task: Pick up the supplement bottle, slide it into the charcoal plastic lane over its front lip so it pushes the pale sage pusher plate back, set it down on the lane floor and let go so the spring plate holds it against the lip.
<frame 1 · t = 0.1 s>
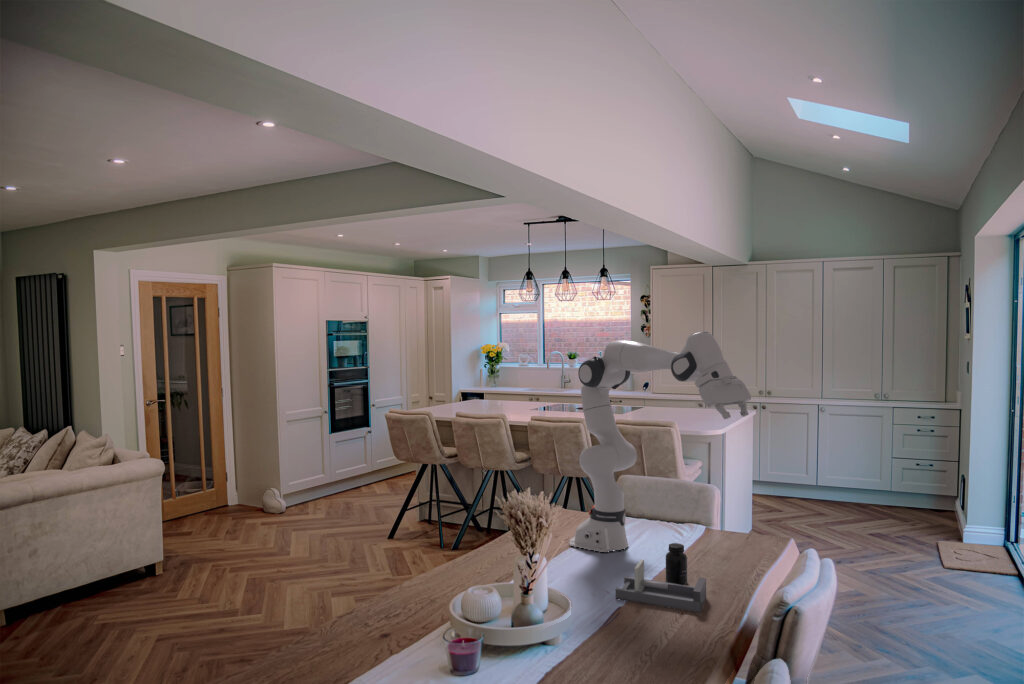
hand: (736, 417, 199), 54 cm above the table, tool tilted 30°, fingers open, 8 cm apart
supplement bottle: (676, 582, 207), on the table
lane: (660, 598, 194), on the table
pusher: (652, 580, 195), point 5 cm above the table, slide at 0.0 cm
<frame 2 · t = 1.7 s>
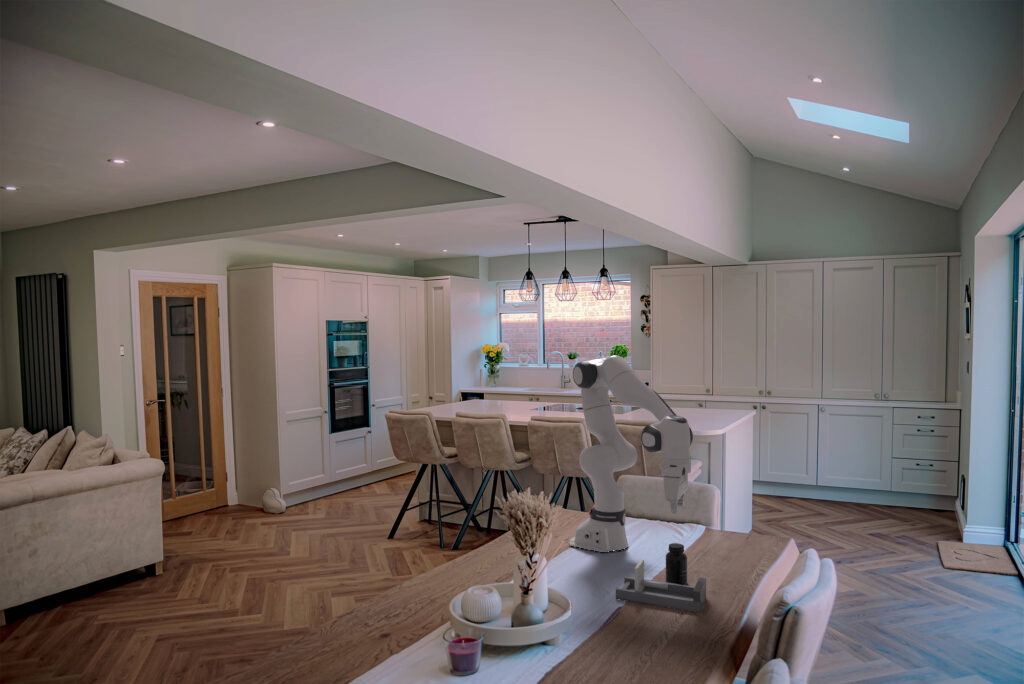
hand: (677, 509, 206), 24 cm above the table, tool pointing down, fingers open, 8 cm apart
nothing on the table moved.
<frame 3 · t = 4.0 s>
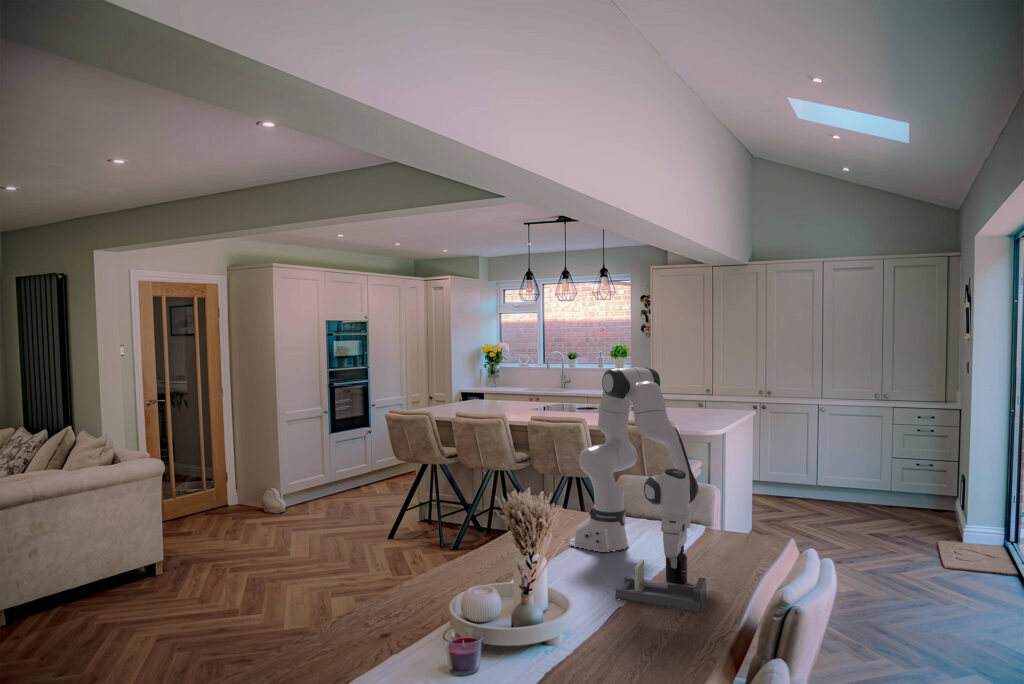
hand: (676, 563, 207), 6 cm above the table, tool pointing down, fingers closed on supplement bottle, 7 cm apart
supplement bottle: (676, 582, 207), on the table, touching gripper
everything else where it was.
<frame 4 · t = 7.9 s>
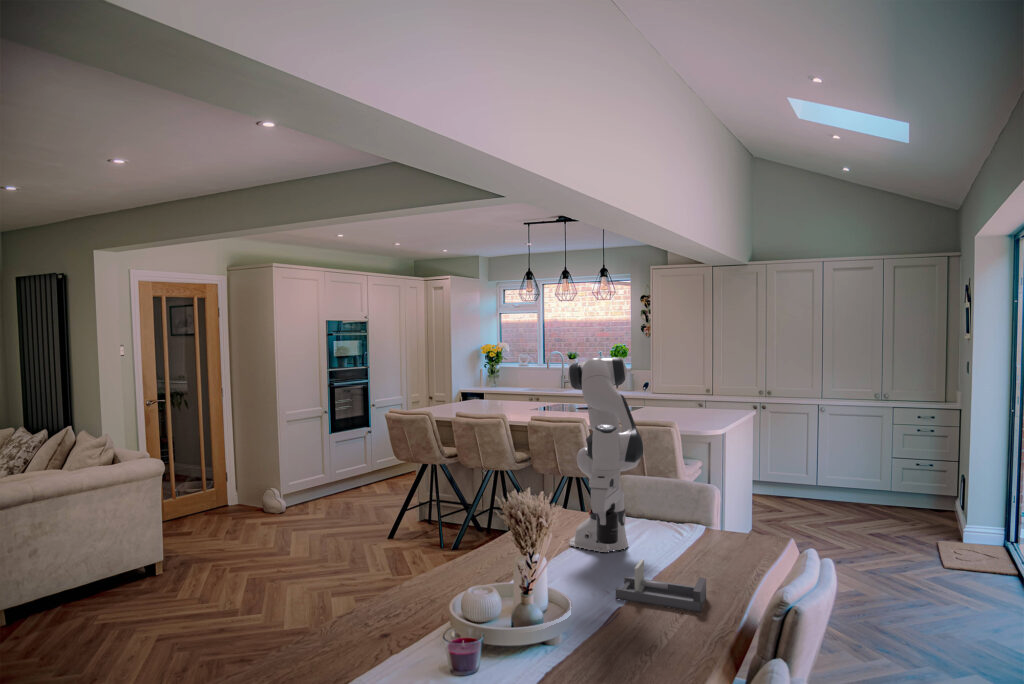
hand: (607, 521, 201), 22 cm above the table, tool pointing down, fingers closed on supplement bottle, 7 cm apart
supplement bottle: (607, 541, 201), point 15 cm above the table, touching gripper
everything else where it was.
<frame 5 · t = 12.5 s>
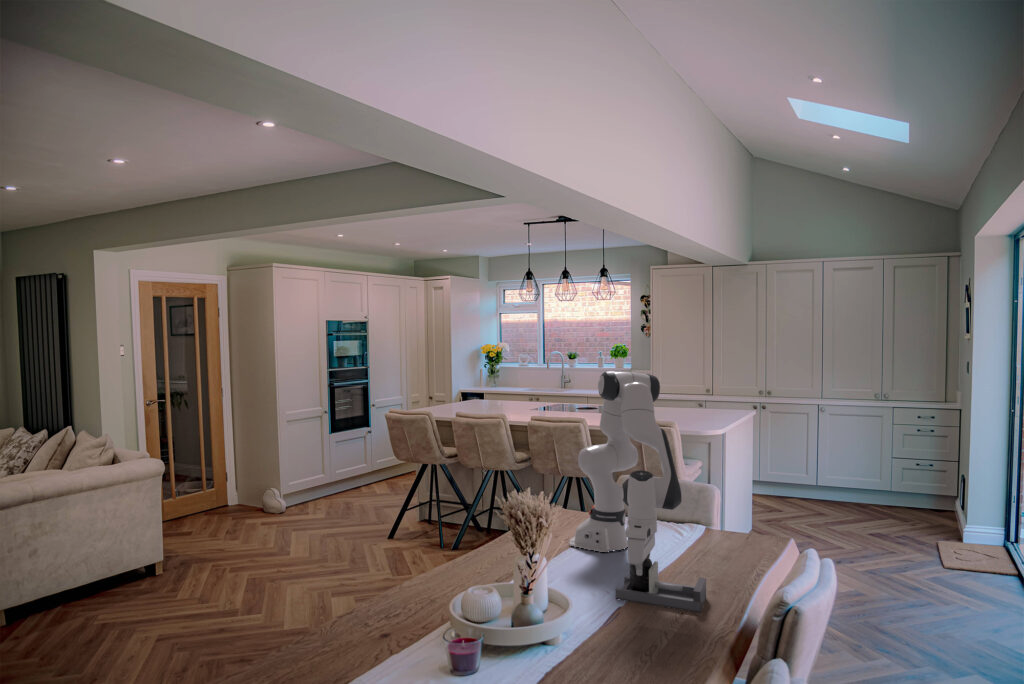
hand: (642, 570, 196), 8 cm above the table, tool pointing down, fingers closed on supplement bottle, 7 cm apart
supplement bottle: (641, 589, 196), point 2 cm above the table, touching gripper
pusher: (666, 582, 193), point 5 cm above the table, slide at 4.4 cm
when the fingers open (8 cm above the table, at t = 13.1 s): supplement bottle drops 1 cm, resting on lane, pusher.
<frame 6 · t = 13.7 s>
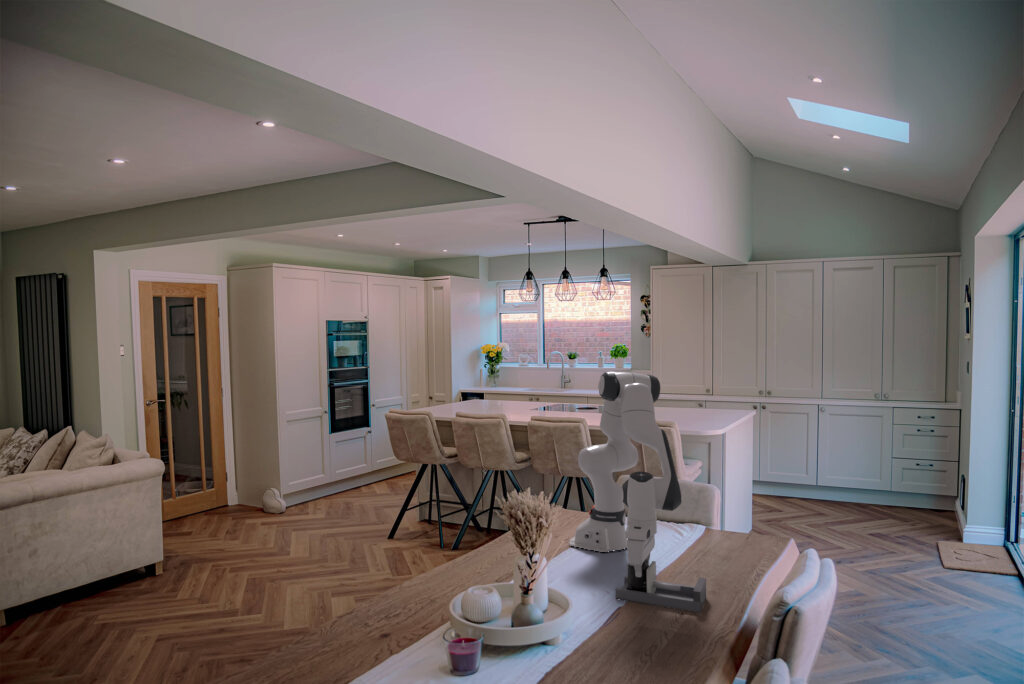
hand: (642, 571, 196), 8 cm above the table, tool pointing down, fingers open, 8 cm apart
supplement bottle: (639, 594, 197), resting on lane, pusher
pusher: (664, 582, 193), point 5 cm above the table, slide at 3.7 cm, touching supplement bottle
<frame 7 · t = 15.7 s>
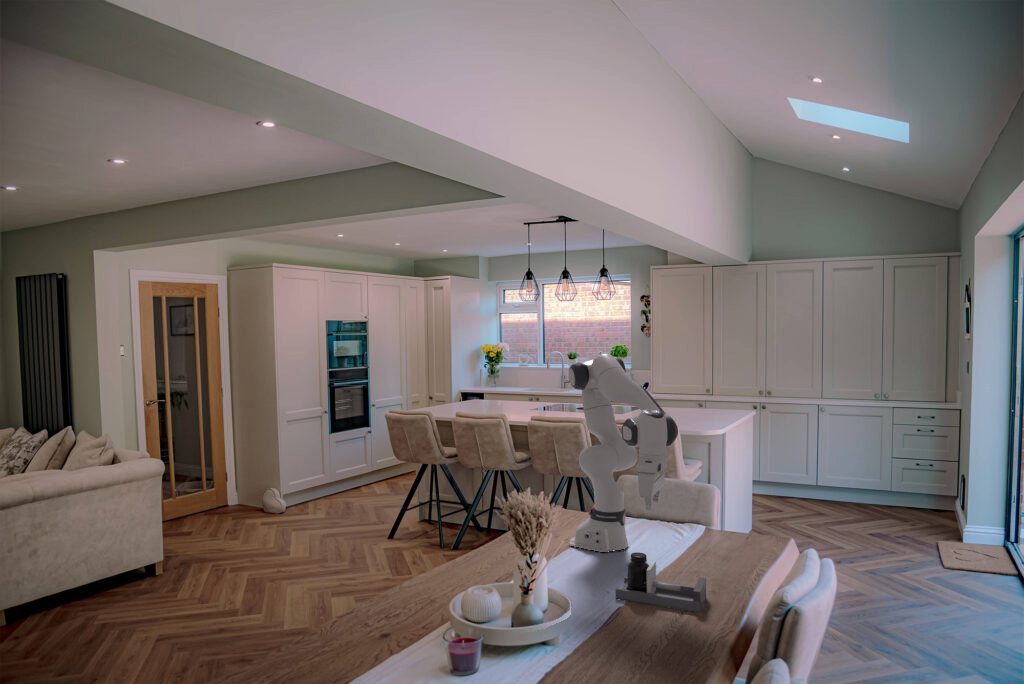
hand: (652, 505, 202), 26 cm above the table, tool pointing down, fingers open, 8 cm apart
nothing on the table moved.
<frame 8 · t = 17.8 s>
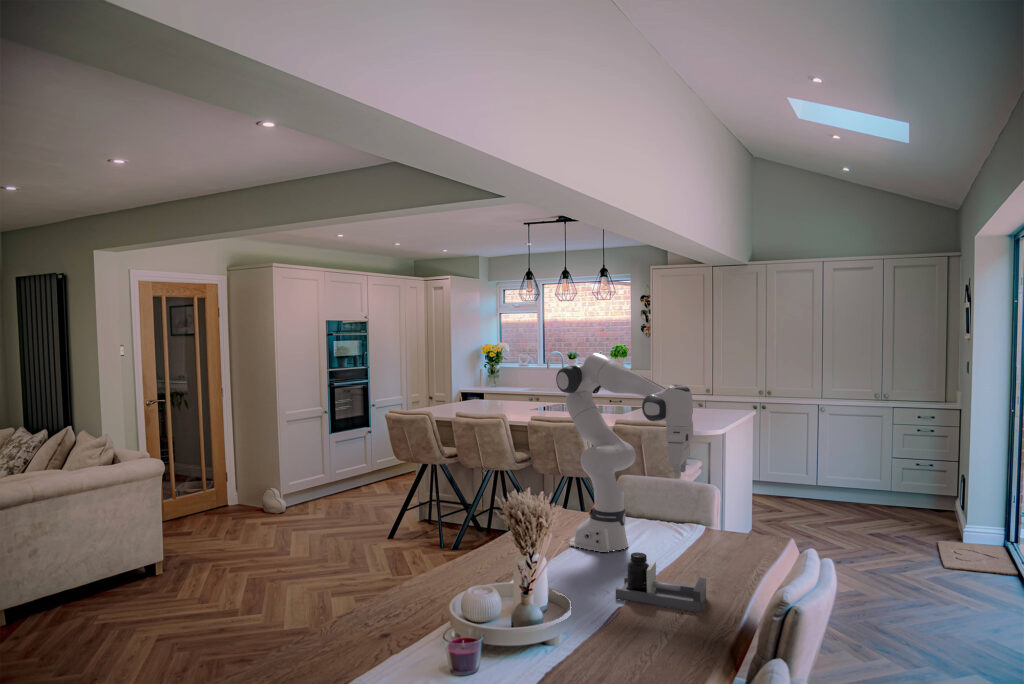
hand: (680, 474, 215), 33 cm above the table, tool pointing down, fingers open, 8 cm apart
nothing on the table moved.
at the end: supplement bottle 0.7 cm from the target spot on the lane, point 0.3 cm above the lane's base; supplement bottle tilted 0°; pusher slide at 3.7 cm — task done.
